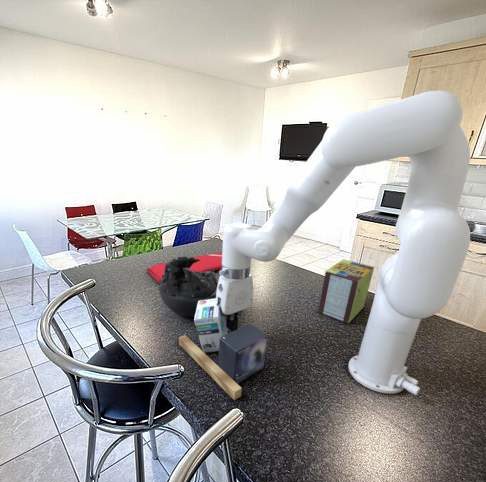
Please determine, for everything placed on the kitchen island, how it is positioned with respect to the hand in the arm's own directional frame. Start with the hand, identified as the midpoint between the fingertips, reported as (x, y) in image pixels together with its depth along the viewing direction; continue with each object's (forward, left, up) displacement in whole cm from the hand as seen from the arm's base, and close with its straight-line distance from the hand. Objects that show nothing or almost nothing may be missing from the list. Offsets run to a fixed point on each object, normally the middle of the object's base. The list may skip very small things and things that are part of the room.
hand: (231, 328), depth 84 cm
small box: (-12, +7, -3) cm, 14 cm away
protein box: (-9, -42, -3) cm, 43 cm away
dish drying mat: (+49, -20, -3) cm, 52 cm away
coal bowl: (+19, +2, -3) cm, 19 cm away
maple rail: (-6, +13, -3) cm, 15 cm away
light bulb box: (+1, +5, -2) cm, 6 cm away
